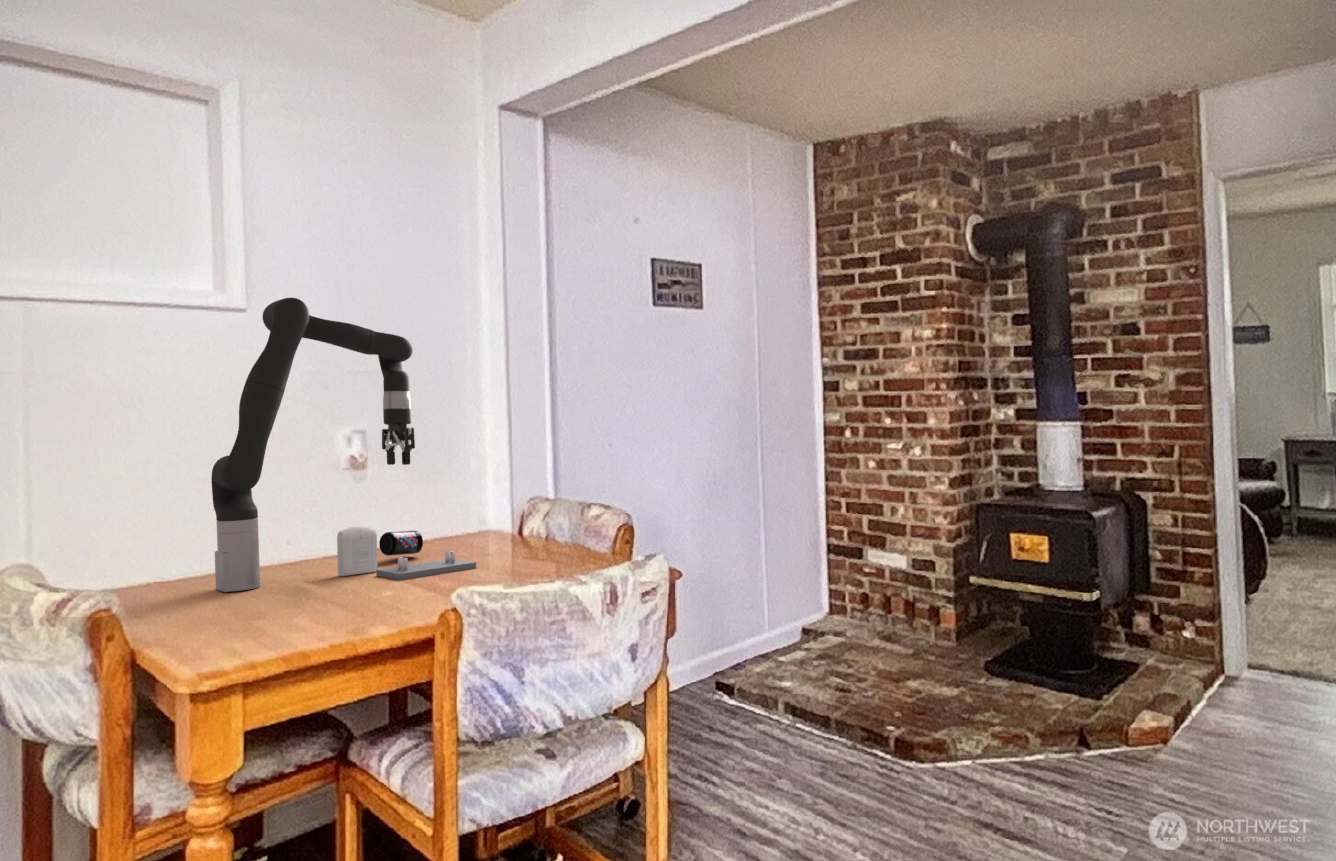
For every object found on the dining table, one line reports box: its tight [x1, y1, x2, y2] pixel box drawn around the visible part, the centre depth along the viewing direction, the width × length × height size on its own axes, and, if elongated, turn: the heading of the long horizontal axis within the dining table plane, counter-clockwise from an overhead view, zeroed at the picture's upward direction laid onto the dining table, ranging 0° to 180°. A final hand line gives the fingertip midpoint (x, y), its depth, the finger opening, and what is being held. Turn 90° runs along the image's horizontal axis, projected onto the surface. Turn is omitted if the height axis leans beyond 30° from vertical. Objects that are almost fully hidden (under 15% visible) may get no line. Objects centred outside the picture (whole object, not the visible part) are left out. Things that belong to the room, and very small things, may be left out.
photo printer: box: [336, 525, 379, 577], centre depth 227 cm, size 10×4×12 cm, turn 134°
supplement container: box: [378, 530, 424, 556], centre depth 249 cm, size 7×7×10 cm
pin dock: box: [375, 550, 477, 581], centre depth 226 cm, size 12×22×4 cm, turn 136°
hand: (398, 464), depth 247 cm, fingers open, 8 cm apart
